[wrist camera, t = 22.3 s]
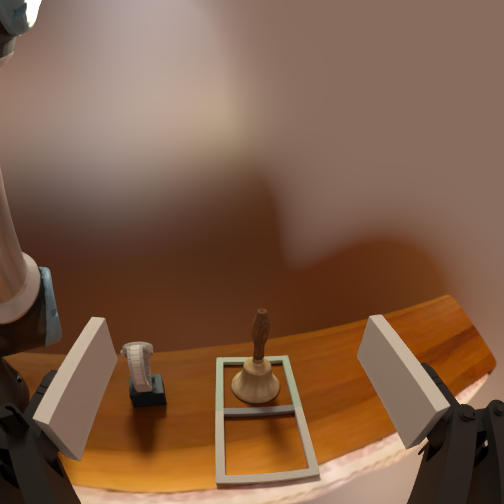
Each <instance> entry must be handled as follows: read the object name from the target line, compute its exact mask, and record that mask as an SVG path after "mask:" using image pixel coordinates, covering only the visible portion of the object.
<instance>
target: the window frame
mask: <svg viewBox="0 0 504 504" xmlns="http://www.w3.org/2000/svg"><path fill="white" fill-rule="evenodd" d="M248 358H250V357H238V358H217V367H216V484H256V483H269V482H280V481H288V480H296V479H302V478H308V477H314V476H319V475H320V472H319V468H318V464H317V460H316V457H315V453H314V449H313V446H312V442H311V438H310V435H309V431H308V427H307V424H306V420H305V416H304V413H303V409H302V406H301V402H300V398H299V395H298V391H297V387H296V384H295V380H294V377H293V373H292V369H291V366H290V362H289V359H288V356H271V357H264V358H266V359H267V360H268V361H269V362H270V363H271V364H275V363H282V365H283V369H284V373H285V377H286V381H287V385H288V389H289V393H290V397H291V401H292V405H284V406H271V407H253V408H224V397H223V365H244V362H245V361H246V360H247V359H248ZM289 413H295V418H296V422H297V426H298V430H299V434H300V438H301V442H302V446H303V450H304V454H305V458H306V462H307V467H308V469H302V470H295V471H287V472H278V473H268V474H253V475H225V448H224V417H242V416H264V415H278V414H289Z"/></svg>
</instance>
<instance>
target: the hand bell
mask: <svg viewBox="0 0 504 504" xmlns="http://www.w3.org/2000/svg"><path fill="white" fill-rule="evenodd" d="M269 331H270V323H269V319H268V316H267V311H266V310H265V309H259V310H258V311H257V314H256V317H255V318H254V321H253V324H252V338H253V341H254V352H253V357H250V358H248V359H247V360H246V361H245V362H244V366H243V370H242V371H241V372H239V373H238V374H237V375H236V376H235V377H234V378H233V380H232V384H231V387H232V391H233V392H234V394H235V395H236V396H237V397H238V398H239V399H241V400H243V401H245V402H248V403H255V404H259V403H265V402H268V401H270V400H272V399H273V398H275V397H276V396H277V394H278V393H279V390H280V384H279V381H278V379H277V378H276V376H275V375H274V374H272V370H271V363H270V362H269V361H268V360H267V359H266V358H264V346H265V343H266V341H267V339H268V336H269Z"/></svg>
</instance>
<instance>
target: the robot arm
mask: <svg viewBox="0 0 504 504" xmlns="http://www.w3.org/2000/svg"><path fill="white" fill-rule="evenodd" d="M40 2H41V0H0V70H1V69H2V68H3V66H4V65H5V64H6V63H7V61H8V60H9V59H10V58H11V57H12V55H13V52H14V45H15V39H16V36H21V34H24V33H26V32H28V31H29V30H30V29H31V28H32V27H33V25H34V23H35V20H36V18H37V14H38V8H39V5H40ZM61 336H62V331H61V327H60V323H59V318H58V314H57V309H56V303H55V298H54V292H53V287H52V281H51V274H50V270H49V269H48V268H42V267H37V265H36V263H35V262H34V260H32V258H31V257H29V256H28V255H27V254H25V253H23V252H21V249H20V246H19V243H18V240H17V237H16V234H15V230H14V226H13V223H12V219H11V215H10V212H9V208H8V203H7V199H6V194H5V190H4V184H3V179H2V173H1V166H0V504H81V502H80V500H79V498H78V496H77V495H76V493H75V491H74V489H73V487H72V485H71V483H70V481H69V478H68V476H67V474H66V472H65V470H64V467H63V465H62V463H61V460H60V458H59V457H58V455H57V454H58V451H59V450H60V451H61V452H62V453H63V454H64V455H65V456H66V457H69V458H72V459H75V460H78V461H81V457H82V454H83V451H84V448H85V445H86V442H87V439H88V436H89V433H90V430H91V427H92V424H93V421H94V418H95V416H96V413H97V410H98V408H99V405H100V402H101V400H102V397H103V394H104V392H105V389H106V387H107V384H108V382H109V379H110V377H111V374H112V372H113V369H114V367H115V365H116V362H117V360H118V359H117V356H116V353H115V350H114V347H113V344H112V341H111V337H110V334H109V331H108V327H107V324H106V320H105V318H98V317H92V318H91V319H90V321H89V322H88V324H87V325H86V327H85V328H84V330H83V332H82V333H81V334H80V336H79V338H78V339H77V341H76V342H75V344H74V345H73V347H72V349H71V350H70V352H69V353H68V355H67V357H66V358H65V360H64V362H63V363H62V365H61V367H60V368H59V370H58V371H56V370H51V371H50V372H49V373H48V374H46V375H45V376H44V378H43V379H42V381H41V383H40V386H38V388H37V390H36V393H34V395H33V397H32V399H31V400H30V402H29V390H28V387H27V385H26V383H25V381H24V380H23V378H22V376H21V375H20V374H19V372H17V371H16V370H15V369H14V368H13V367H12V366H11V365H10V364H9V363H8V362H7V361H6V360H5V359H4V358H3V357H4V356H8V355H12V354H16V353H20V352H24V351H28V350H32V349H36V348H40V347H43V348H45V347H47V346H48V345H50V344H53V343H56V342H58V341H59V340H60V339H61ZM357 358H358V359H359V361H360V363H361V365H362V366H363V368H364V370H365V372H366V374H367V376H368V377H369V379H370V381H371V383H372V385H373V387H374V388H375V390H376V392H377V394H378V396H379V398H380V400H381V401H382V403H383V405H384V407H385V409H386V411H387V413H388V415H389V417H390V419H391V420H392V422H393V424H394V426H395V428H396V430H397V432H398V434H399V436H400V438H401V440H402V442H403V444H404V446H405V448H406V450H407V449H409V448H412V447H414V446H416V445H419V444H420V443H421V442H422V441H423V440H424V439H425V437H427V439H428V442H427V443H426V445H425V446H424V447H423V448H422V449H421V450H420V451H419V453H418V455H420V454H421V453H422V452H423V451H424V454H423V458H422V461H421V465H420V468H419V471H418V475H417V478H416V481H415V484H414V486H413V489H412V492H411V495H410V498H409V500H408V502H407V504H504V403H503V402H502V401H500V400H493V401H491V402H490V403H489V405H488V406H487V407H486V408H484V409H477V410H475V409H474V408H473V407H471V406H469V405H467V404H461V405H460V404H459V403H458V402H457V400H456V399H455V397H454V396H453V395H452V393H451V392H450V390H449V389H448V388H447V386H446V385H445V384H444V383H443V381H442V380H441V378H440V377H438V374H437V373H436V372H435V371H434V369H433V368H432V367H430V366H429V365H427V364H426V363H425V362H424V363H421V364H420V363H419V362H418V360H417V359H416V358H415V356H414V355H413V354H412V352H411V351H410V350H409V349H408V347H407V346H406V345H405V343H404V342H403V341H402V340H401V338H400V337H399V336H398V335H397V333H396V332H395V331H394V330H393V328H392V327H391V326H390V325H389V323H388V322H387V321H386V320H385V318H384V317H383V316H382V315H376V316H369V319H368V322H367V326H366V329H365V332H364V336H363V339H362V342H361V345H360V348H359V351H358V354H357ZM28 403H29V404H28ZM486 440H487V441H488V445H487V446H485V443H484V442H485V441H486Z"/></svg>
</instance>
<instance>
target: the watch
mask: <svg viewBox="0 0 504 504" xmlns="http://www.w3.org/2000/svg"><path fill="white" fill-rule="evenodd" d="M121 355H124V356H125V357H127V358H128V364H129V369H130V372H131V377H129V394H130V398H131V400H132V403H133V405H134V407H144V406H155V405H165V404H167V402H166V396H165V390H164V384H163V381H162V377H161V374H154V375H151V373H150V366H149V360H148V359H151V356H152V355H153V346H152V345H151V344H149V343H145V342H132V343H128V344H125V345H124V346H123V350H121ZM144 364H146V365H144Z"/></svg>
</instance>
